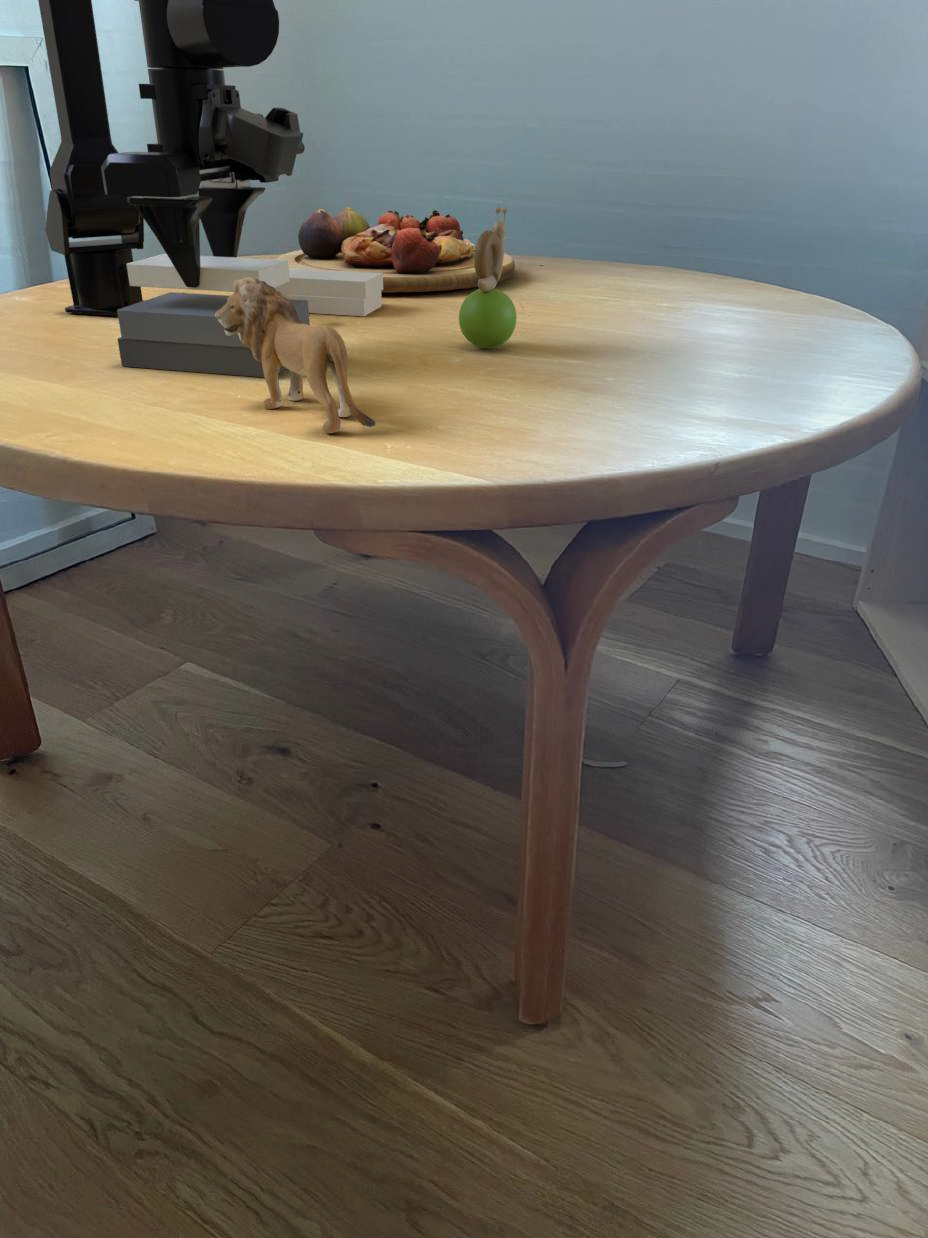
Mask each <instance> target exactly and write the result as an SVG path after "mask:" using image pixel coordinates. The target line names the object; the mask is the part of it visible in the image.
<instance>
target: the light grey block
mask: <svg viewBox="0 0 928 1238" xmlns="http://www.w3.org/2000/svg"><path fill="white" fill-rule="evenodd" d="M289 277H290V282H288V283H285V284H283V285H281V286H278V287H276V288H275V289H276V290H277V291H280V292H281V293H282V296H283V297H285V298H287V299H293V300H308V310H309V314H317V315H331V316H332V315H333V316H334V315H335V316H349V317H366V316H368V315H369V314H371V313H373V312H374V311H376V310H378V309H380V308H382V306H383V304H382V303H383V302H382V292H381V291H382V290H383V273H371V272H352V271H333V270H314V269H295V268H289Z"/></svg>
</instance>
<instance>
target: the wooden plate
mask: <svg viewBox="0 0 928 1238" xmlns="http://www.w3.org/2000/svg"><path fill="white" fill-rule="evenodd" d="M463 234H464V231H463V230H461V225H460V222H459V221H458V219H457V218H456V217H454V216H451V214H450V213H448V214H446V215H445V216H443V215H441V214H440V212H439V211H438V210H436V209H433V210H432V213H431V214H430V215H429V217H427V216H425V217H424V219H423V220H421V222H420V221H419V220H418V218H415V217H414V216H413V215H409V214H406V215H402V216H401V215H400V213H399V212H398V211H395V210H394V211H392V210H387V212H386V213H383V214H382V215H381V216H380V217H379V218H378V222H377V225H375V226H373V227H371V226H370V225H369V223H368V221H367V219H366V218H365V217H364V216H363V215H362V214H360V213H358V212H357V211H355V210H354V209H353V208H352V207H351V206H346V207H345V208H344V209H343V210H341V211H340V212H338V213H337V214H336V215H335V216H334V217H333V216H331V215H330V214H329V213H328V212H327V211H326V210H324V209H323V208H319V209H317V210H315V211H313V212H312V213H311V214H309V215H308V217H307V218H306V219H304V221H303V222H302V223H301V226H300V228H299V230H298V234H297V238H298V244H299V248H300V249H298V250H294V251H293V250H292V251H289V252H287V253H284V254H281V255H279V256H278V257H277V258H276V260H288V264H289V268H295V269H314V270H333V271H352V272H371V273H383V290H382V291H381V293H420V292H424V293H425V292H439V291H454V290H462V289H471V288H476V287H478V281H479V278H478V277H477V274H476V271H475V264H474V257H475V248H476V246H475V244H474V243H472V241H470V239H467V238H464V235H463ZM515 269H516V263H515V260H514V259H513V257H512V256H511V255H510V254H508V253H506V252H504V259H503V265H502V271H501V276H500V279H499V280H498V282H497V283H499V282H502V281H505V280H506V279H508V278H511V276H512V275H513V274H514V272H515ZM478 288H479V287H478Z"/></svg>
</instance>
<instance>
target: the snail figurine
mask: <svg viewBox="0 0 928 1238" xmlns="http://www.w3.org/2000/svg"><path fill="white" fill-rule="evenodd" d="M508 211H509V210H508V208H507V207H505V206H504V207H500V206H496V207H495V208H494V212H495V213H496V214H497V216H496V221H495V222H494V223H493V225H492V230H491V229H487V230H484V231H483V232H481V234H480V235H479V237H478V238H477V240H476V245H475V247H476V248H475V257H474V264H475V271H476V274H477V277H478V278H479V281H478V289H476V290H474V291H472V292H471V293H469V294H468V295H467V296H466V297H465V298H464V300H463V302H462V304H461V305H460V309H459V311H458V324H459V328H460V332H461V333H462V335H463V337H464V338H465V339H466V340H467V341H468V342H469V343H470V344H471V345H473V346H475V347H477V348H480V349H495V348H498V347H500V346H502V345H504V344H505V343H506V342H507V341H508V340H509V339H511V337H512V335H513V333H514V331H515V330H516V326H517V319H518V318H517V317H518V316H517V310H516V306H515V304H514V303H513V301H512V299H511V298H510V297H509V296H508V295H507V294H506V292H504V291H502V290H501V289H498V288H496V286H497V284H498V283H499V282H498V280H499V279H500V276H501V271H502V265H503V259H504V253H505V249H506V248H505V247H506V241H505V239H506V233H507V225H506V214H507V213H508ZM500 213H502V214H503V221H502V220H499V214H500Z"/></svg>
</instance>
